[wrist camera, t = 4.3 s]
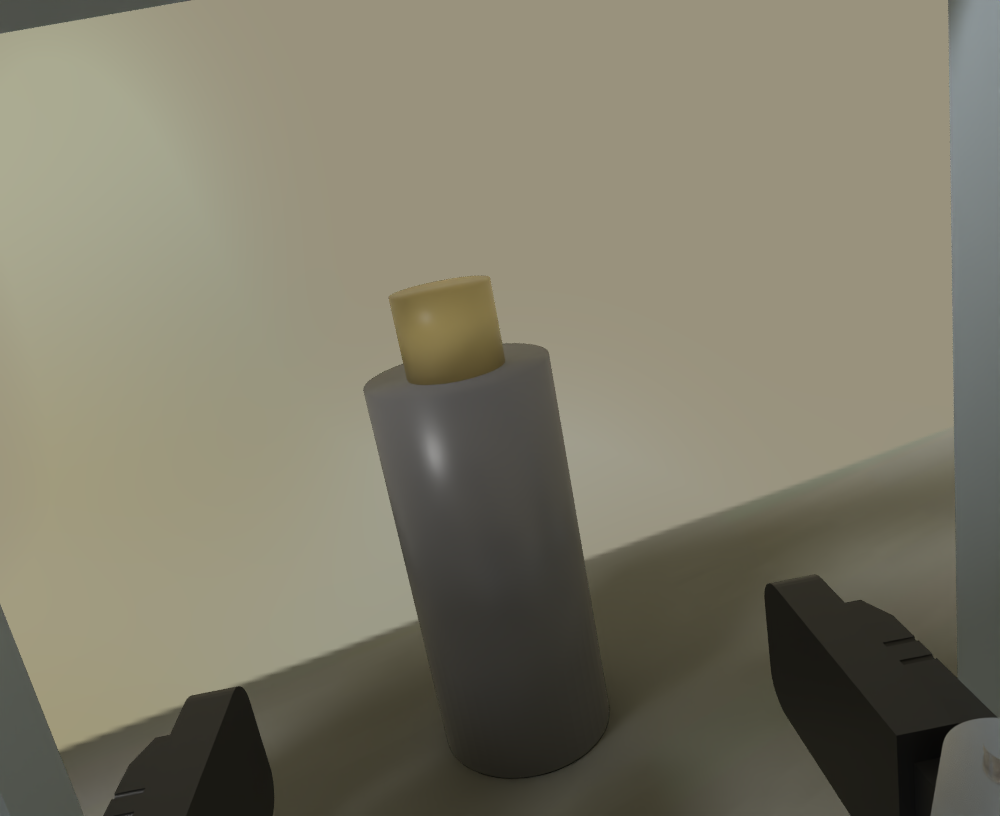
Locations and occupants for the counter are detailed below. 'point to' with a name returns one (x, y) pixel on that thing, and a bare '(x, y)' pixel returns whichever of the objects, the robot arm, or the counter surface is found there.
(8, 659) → the rectangular arch frame
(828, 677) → the robot arm
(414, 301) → the bottle
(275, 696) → the counter surface
